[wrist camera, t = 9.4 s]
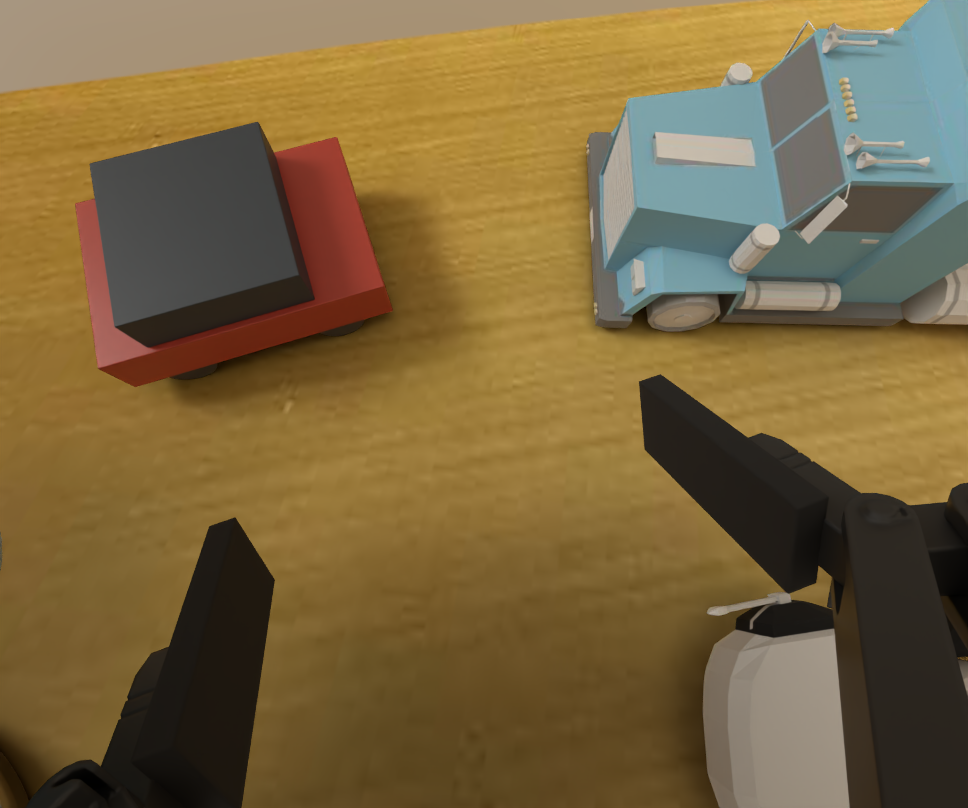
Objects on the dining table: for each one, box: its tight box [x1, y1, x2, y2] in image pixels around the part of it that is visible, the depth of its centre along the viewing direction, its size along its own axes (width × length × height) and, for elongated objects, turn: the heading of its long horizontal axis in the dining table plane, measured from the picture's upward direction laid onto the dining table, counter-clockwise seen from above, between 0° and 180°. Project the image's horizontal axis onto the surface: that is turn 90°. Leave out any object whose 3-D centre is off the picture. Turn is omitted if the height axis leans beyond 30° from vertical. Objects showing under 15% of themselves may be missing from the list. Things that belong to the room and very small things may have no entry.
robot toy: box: [703, 592, 968, 808], centre depth 20 cm, size 12×4×15 cm
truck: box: [586, 0, 968, 331], centre depth 22 cm, size 12×29×15 cm, turn 89°
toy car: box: [75, 122, 393, 387], centre depth 25 cm, size 13×6×9 cm
